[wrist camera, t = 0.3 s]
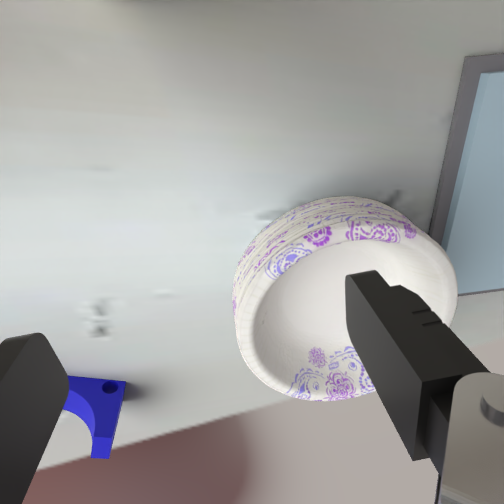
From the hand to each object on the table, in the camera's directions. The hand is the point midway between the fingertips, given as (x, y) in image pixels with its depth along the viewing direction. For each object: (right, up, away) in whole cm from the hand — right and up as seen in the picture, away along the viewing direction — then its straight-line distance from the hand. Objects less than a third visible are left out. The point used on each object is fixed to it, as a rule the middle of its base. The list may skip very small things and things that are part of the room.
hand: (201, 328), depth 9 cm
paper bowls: (+7, +1, +21) cm, 22 cm away
